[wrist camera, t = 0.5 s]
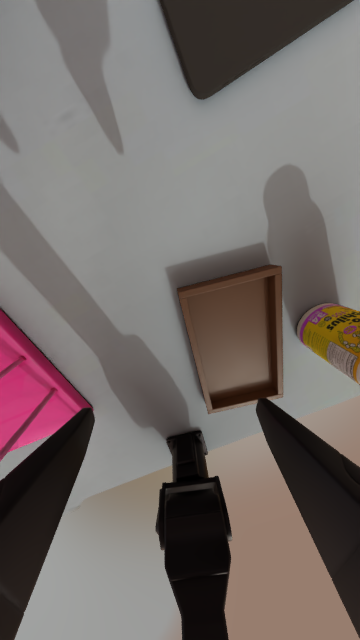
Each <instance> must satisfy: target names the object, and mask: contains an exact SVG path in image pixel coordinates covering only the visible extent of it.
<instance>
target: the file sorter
mask: <svg viewBox="0 0 360 640" xmlns="http://www.w3.org/2000/svg"><path fill="white" fill-rule="evenodd" d="M86 407H91V406H90V405H89V404H88V403H87V402H86V401H85V399H84V398H83V397H82V396H81V395H80V394H79V393H78V392H77V391H76V390H75V389H74V388H73V387H72V385H71V384H70V383H69V382H68V381H67V380H66V379H65V378H64V377H63V376H62V375H61V374H60V373H59V372H58V371H57V370H56V368H55V367H54V366H53V365H52V364H51V363H50V362H49V361H48V360H47V359H46V358H45V356H44V355H43V354H42V353H41V352H40V351H39V350H38V349H37V348H36V347H35V346H34V345H33V344H32V343H31V341H30V340H29V339H28V338H27V337H26V336H25V335H24V334H23V333H22V332H21V331H20V330H19V329H18V328H17V327H16V326H15V324H14V323H13V322H12V321H11V320H10V319H9V318H8V317H7V316H6V315H5V314H4V313H3V311H2V310H1V309H0V461H1V460H2V459H3V457H4V456H5V455H6V454H7V452H10V451H12V450H15V449H17V448H20V447H22V446H24V445H27V444H29V443H32V442H34V441H37V440H39V439H42V438H44V437H46V436H49V435H51V434H54V433H55V432H56V431H57V430H58V429H60V428H61V427H62V426H63V425H64V424H65V423H66V422H67V421H69V420H70V419H71V418H72V417H73V416H74V415H75V414H76V413H78V412H79V411H80V410H81V409H82V408H86ZM91 408H92V407H91ZM92 410H93V408H92Z"/></svg>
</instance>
